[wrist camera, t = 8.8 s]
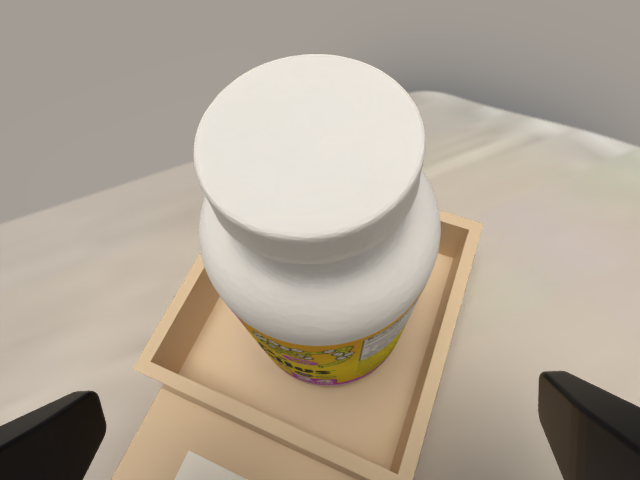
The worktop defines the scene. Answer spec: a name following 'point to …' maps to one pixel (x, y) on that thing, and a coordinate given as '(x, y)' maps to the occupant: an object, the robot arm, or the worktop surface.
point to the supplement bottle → (317, 212)
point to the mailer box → (291, 391)
